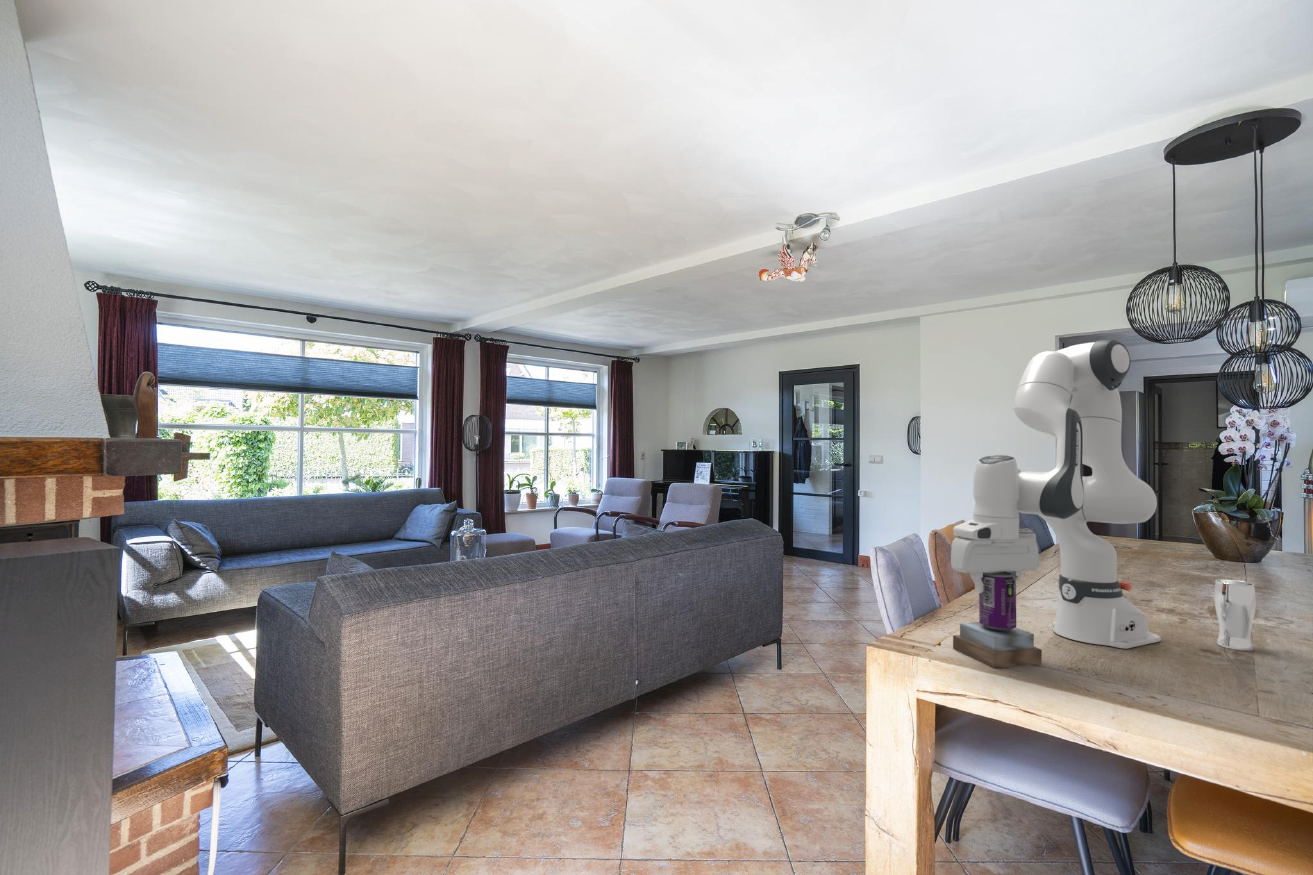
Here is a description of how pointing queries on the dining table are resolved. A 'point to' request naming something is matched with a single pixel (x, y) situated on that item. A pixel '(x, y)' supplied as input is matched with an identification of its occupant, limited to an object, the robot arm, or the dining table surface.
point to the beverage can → (998, 601)
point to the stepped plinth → (997, 655)
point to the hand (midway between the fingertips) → (995, 591)
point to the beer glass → (1235, 613)
